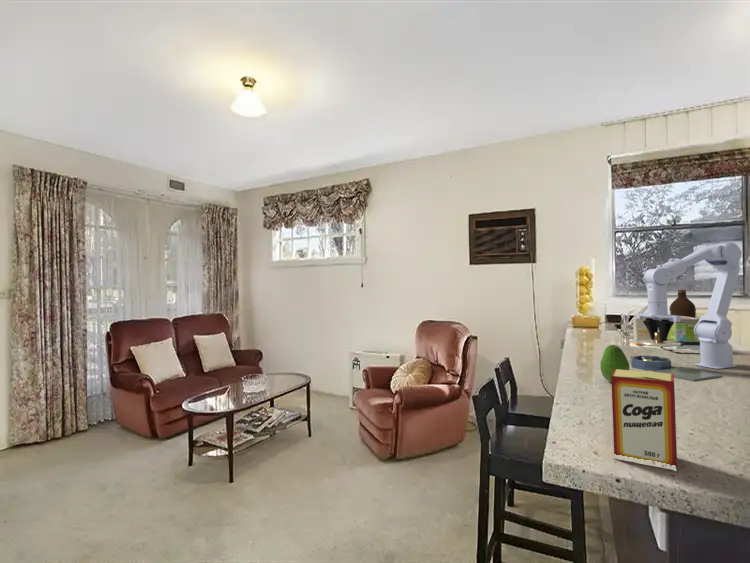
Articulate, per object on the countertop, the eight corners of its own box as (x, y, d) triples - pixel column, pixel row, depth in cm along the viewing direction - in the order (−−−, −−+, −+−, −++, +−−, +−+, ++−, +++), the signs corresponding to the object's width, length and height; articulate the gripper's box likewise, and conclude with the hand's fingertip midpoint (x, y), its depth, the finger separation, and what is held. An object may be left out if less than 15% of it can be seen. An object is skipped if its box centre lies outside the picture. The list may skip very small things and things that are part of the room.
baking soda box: (614, 459, 76) (611, 374, 76) (617, 447, 81) (614, 367, 81) (677, 471, 71) (674, 379, 71) (676, 457, 76) (673, 372, 76)
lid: (655, 341, 153) (655, 329, 153) (689, 346, 141) (689, 333, 141) (630, 343, 149) (629, 331, 149) (662, 348, 137) (662, 335, 137)
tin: (647, 362, 156) (646, 354, 156) (678, 368, 145) (678, 359, 145) (623, 365, 153) (623, 357, 153) (653, 371, 141) (653, 363, 141)
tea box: (703, 353, 169) (702, 318, 169) (676, 354, 171) (674, 318, 171) (683, 347, 183) (682, 315, 183) (658, 347, 185) (657, 315, 185)
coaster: (680, 369, 144) (680, 367, 144) (721, 376, 132) (721, 375, 132) (653, 372, 140) (653, 371, 140) (693, 381, 128) (693, 379, 128)
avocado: (601, 384, 128) (600, 346, 128) (600, 378, 135) (598, 342, 135) (631, 386, 124) (630, 347, 124) (628, 380, 131) (626, 343, 131)
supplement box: (653, 344, 196) (652, 316, 196) (656, 345, 191) (655, 317, 191) (633, 343, 198) (632, 316, 198) (636, 345, 194) (635, 317, 194)
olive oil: (699, 338, 206) (698, 289, 206) (693, 341, 199) (691, 290, 199) (674, 336, 214) (673, 289, 214) (667, 339, 208) (665, 290, 208)
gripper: (630, 302, 151) (632, 338, 151) (669, 303, 137) (670, 344, 137) (645, 301, 153) (646, 337, 153) (684, 302, 139) (685, 342, 139)
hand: (658, 340), depth 145 cm, fingers closed on lid, 3 cm apart
